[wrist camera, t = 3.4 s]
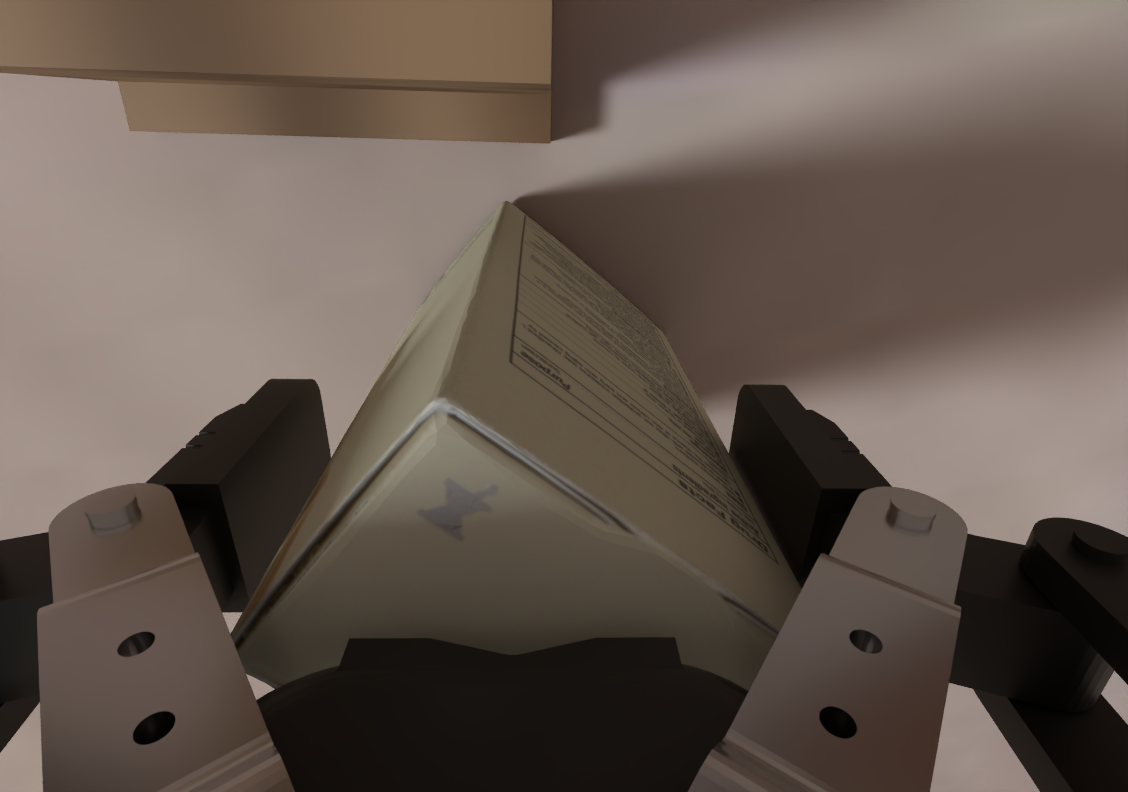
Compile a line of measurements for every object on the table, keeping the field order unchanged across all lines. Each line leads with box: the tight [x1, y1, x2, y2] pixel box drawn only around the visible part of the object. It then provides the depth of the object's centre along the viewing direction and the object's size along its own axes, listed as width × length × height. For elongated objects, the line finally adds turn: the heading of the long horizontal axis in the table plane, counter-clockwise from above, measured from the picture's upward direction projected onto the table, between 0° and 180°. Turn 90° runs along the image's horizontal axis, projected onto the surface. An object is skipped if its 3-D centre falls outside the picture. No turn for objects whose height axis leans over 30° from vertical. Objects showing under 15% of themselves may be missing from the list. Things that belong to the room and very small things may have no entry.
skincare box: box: [230, 201, 802, 691], centre depth 12 cm, size 6×4×12 cm
